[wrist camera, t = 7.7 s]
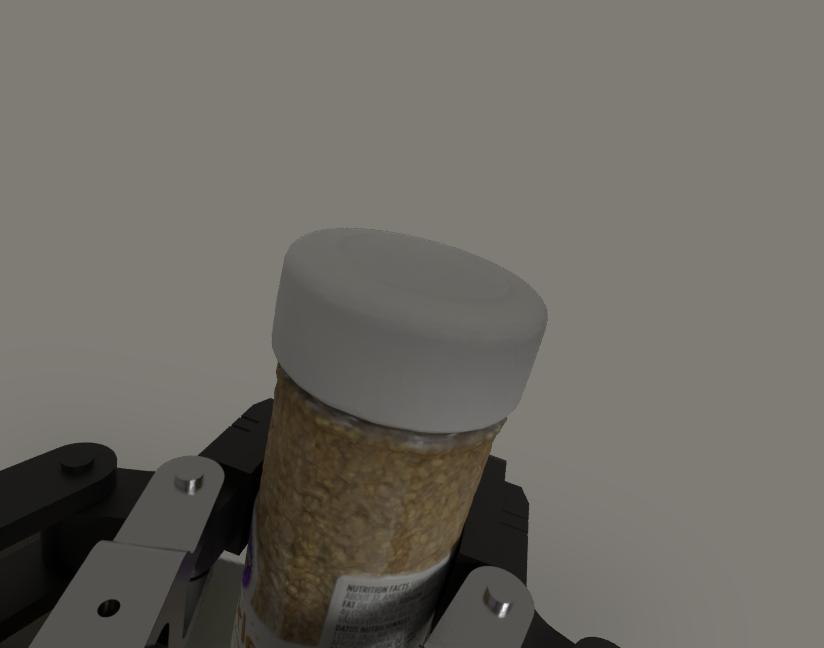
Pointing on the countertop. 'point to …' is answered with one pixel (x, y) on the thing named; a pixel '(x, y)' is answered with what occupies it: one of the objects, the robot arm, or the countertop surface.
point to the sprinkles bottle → (377, 434)
